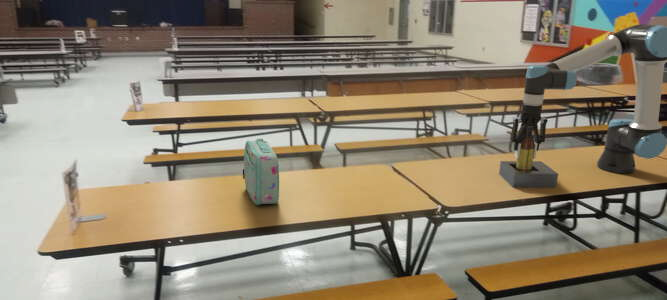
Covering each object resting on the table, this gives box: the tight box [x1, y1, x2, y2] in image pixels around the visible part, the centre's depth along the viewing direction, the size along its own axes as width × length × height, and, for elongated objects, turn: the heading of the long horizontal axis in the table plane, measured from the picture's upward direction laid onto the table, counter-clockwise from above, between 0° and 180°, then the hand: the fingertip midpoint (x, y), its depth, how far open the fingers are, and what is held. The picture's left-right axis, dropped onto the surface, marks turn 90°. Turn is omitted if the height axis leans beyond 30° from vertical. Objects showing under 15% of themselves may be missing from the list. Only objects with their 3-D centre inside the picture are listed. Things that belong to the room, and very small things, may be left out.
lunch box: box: [242, 138, 280, 206], centre depth 179 cm, size 27×10×21 cm, turn 21°
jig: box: [498, 160, 559, 189], centre depth 199 cm, size 18×16×6 cm
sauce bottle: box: [516, 126, 535, 171], centre depth 196 cm, size 6×6×20 cm
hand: (524, 157), depth 197 cm, fingers closed on sauce bottle, 6 cm apart
